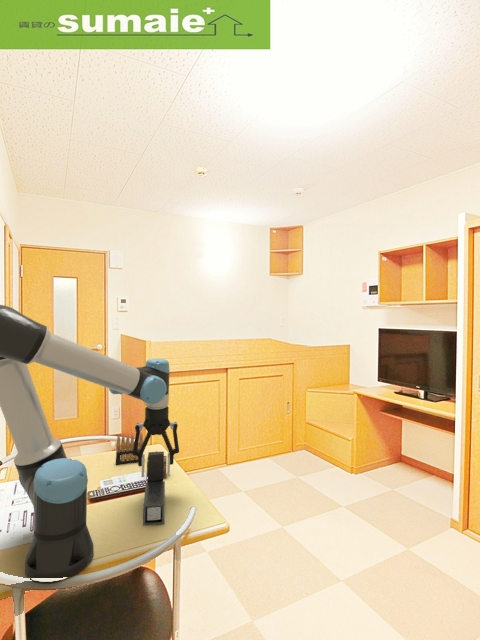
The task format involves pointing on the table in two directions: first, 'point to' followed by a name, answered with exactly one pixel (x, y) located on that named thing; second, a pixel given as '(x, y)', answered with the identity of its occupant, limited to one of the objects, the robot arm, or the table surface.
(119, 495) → the table surface
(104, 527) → the table surface
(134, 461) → the ammunition clip
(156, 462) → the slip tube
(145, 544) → the table surface
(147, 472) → the brown block
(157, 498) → the sleeve
